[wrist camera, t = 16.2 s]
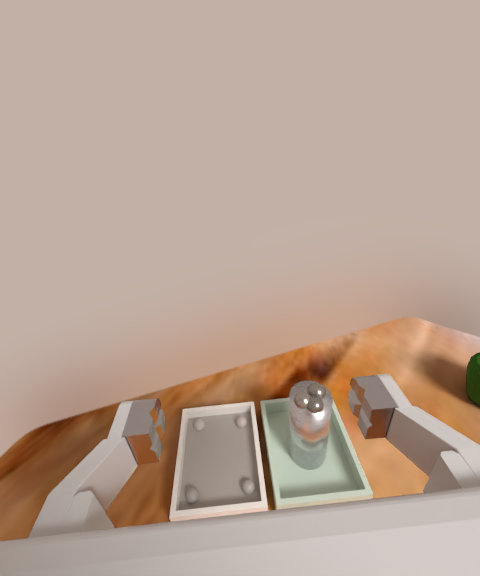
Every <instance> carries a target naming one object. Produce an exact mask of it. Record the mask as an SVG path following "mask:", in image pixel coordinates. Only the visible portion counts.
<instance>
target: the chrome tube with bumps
mask: <svg viewBox="0 0 480 576" xmlns="http://www.w3.org/2000/svg"><path fill="white" fill-rule="evenodd" d="M332 404H333V398H332V395H331V393H330V391H329V390H328V389H327V388H326V387H325V386H323V385H322V384H320V383H318V382H314V381H302V382H299V383H297V384H295V385H294V386H293V387H292V388H291V390H290V394H289V454H290V457H291V459H292V460H293V462H294V463H295V464H296V465H298V466H299V467H301V468H303V469H306V470H314V469H317V468H319V467H321V466H322V465H323V463H324V461H325V459H326V452H327V444H328V436H329V428H330V420H331V412H332Z"/></svg>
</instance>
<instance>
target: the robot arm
mask: <svg viewBox="0 0 480 576" xmlns="http://www.w3.org/2000/svg"><path fill="white" fill-rule="evenodd" d="M350 385H351V387H352V389H351V390H350V391H349V394H348V400H349V405H350V408H351V411H352V413H353V415H355V416H356V417H358V418H359V420H358V426H359V428H360V430H361V432H362V434H363V436H364V438H365V439H373V438H386V439H387V440H388V441H389V442H390V443H391V444H393V445H394V446H395V447H396V448H397V449H398V450H399V451H401V452H402V453H403V454H404V455H405V456H406V457H407V458H408V459H410V460H411V461H412V462H413V463H414V464H415V465H416V466H418V467H419V468H420V469H421V470H422V471H423V472H424V473H426V474H427V475H428V476H429V479H428V481H427V483H426V485H425V488H424V490H423V492H424V493H418V494H410V495H401V496H392V497H383V498H374V499H366V500H357V501H348V502H339V503H330V504H322V505H313V506H304V507H295V508H286V509H278V510H269V511H260V512H251V513H243V514H234V515H225V516H216V517H208V518H199V519H190V520H182V521H173V522H164V523H155V524H147V525H138V526H129V527H120V528H114V525H113V523H112V522H111V520H110V519H109V517H108V516H107V514H106V513H105V512H106V510H107V509H108V508H109V506H110V505H111V503H112V502H113V501H114V499H115V498H116V496H117V495H118V493H119V492H120V491H121V489H122V488H123V486H124V485H125V483H126V482H127V481H128V479H129V478H130V476H131V475H132V474H133V472H134V471H135V469H136V468H137V466H138V465H139V464H146V463H153V462H159V459H160V453H161V448H162V444H161V441H160V439H161V437H162V436H163V435H164V431H165V415H164V412H163V410H161V409H160V407H161V402H160V400H159V399H146V400H134V401H123V402H121V404H120V405H119V407H118V410H117V412H116V415H115V418H114V421H113V423H112V426H111V429H110V432H109V434H108V437H107V439H103V440H102V441H101V442H100V443H99V444H98V445H97V446H96V447H95V448H94V449H93V450H92V451H91V452H90V453H89V454H88V455H87V456H86V457H85V458H84V459H83V460H82V461H81V462H80V463H79V464H78V465H77V466H76V467H75V468H74V469H73V470H72V471H71V472H70V473H69V474H68V475H67V476H66V477H65V478H64V479H63V480H62V481H61V482H60V483H59V484H58V485H57V486H56V487H55V488H54V489H53V490H52V491H51V492H50V493H49V494H48V497H47V499H46V501H45V503H44V505H43V507H42V509H41V511H40V514H39V516H38V518H37V520H36V522H35V524H34V526H33V529H32V531H31V533H30V535H29V537H28V538H24V539H16V540H7V541H0V576H480V445H478V444H477V443H475V442H474V441H472V440H470V439H469V438H467V437H465V436H464V435H462V434H461V433H459V432H457V431H456V430H454V429H452V428H451V427H449V426H448V425H446V424H444V423H443V422H441V421H439V420H438V419H436V418H435V417H433V416H431V415H430V414H428V413H426V412H425V411H423V410H422V409H420V408H418V407H417V406H412V405H411V404H410V403H409V401H408V400H407V398H406V397H405V395H404V394H403V393H402V391H401V390H400V388H399V387H398V386H397V384H396V383H395V381H394V380H393V379H392V377H391V376H390V375H389V374H383V375H371V376H363V377H355V378H352V379H351V382H350Z"/></svg>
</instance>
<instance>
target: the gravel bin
mask: <svg viewBox="0 0 480 576" xmlns="http://www.w3.org/2000/svg"><path fill="white" fill-rule="evenodd" d="M260 511H268V505H267V497H266V489H265V482H264V474H263V467H262V459H261V452H260V444H259V436H258V429H257V421H256V414H255V406H254V402H244V403H235V404H225V405H216V406H206V407H197V408H187V409H183V412H182V420H181V428H180V436H179V444H178V452H177V460H176V468H175V476H174V484H173V492H172V500H171V508H170V516H169V518H170V521H171V522H173V521H182V520H190V519H199V518H208V517H216V516H225V515H234V514H243V513H251V512H260Z"/></svg>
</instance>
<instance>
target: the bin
mask: <svg viewBox="0 0 480 576" xmlns="http://www.w3.org/2000/svg"><path fill="white" fill-rule="evenodd" d="M260 404H261V417H262V423H263V430H264V437H265V443H266V450H267V456H268V463H269V470H270V476H271V483H272V489H273V496H274V503H275V509H276V510H278V509H286V508H295V507H304V506H313V505H322V504H330V503H339V502H348V501H357V500H366V499H372V497H373V492H372V490H371V488H370V485H369V483H368V481H367V478H366V476H365V474H364V471H363V469H362V467H361V464H360V462H359V460H358V457H357V455H356V452H355V450H354V448H353V445H352V443H351V441H350V438H349V436H348V434H347V431H346V429H345V427H344V424H343V422H342V420H341V417H340V415H339V412H338V410H337V408H336V405H335V403H334V401H333V404H332V412H331V420H330V428H329V436H328V444H327V452H326V459H325V461H324V463H323V465H322V466H321V467H319V468H317V469H314V470H306V469H303V468H301V467H299V466H298V465H296V464H295V463H294V462H293V460H292V459H291V457H290V454H289V398H282V399H272V400H263V401H260Z"/></svg>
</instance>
